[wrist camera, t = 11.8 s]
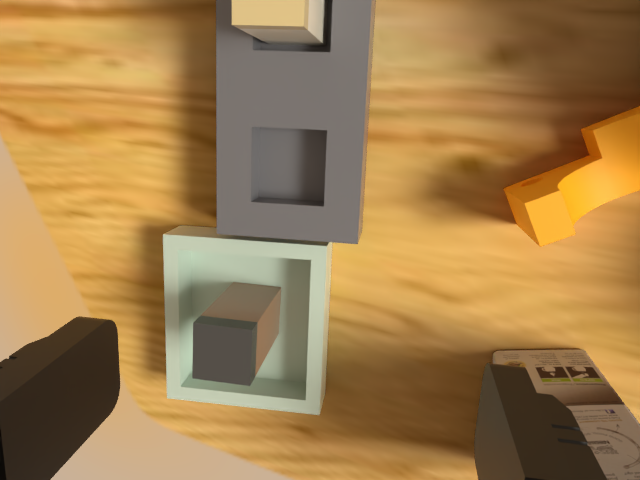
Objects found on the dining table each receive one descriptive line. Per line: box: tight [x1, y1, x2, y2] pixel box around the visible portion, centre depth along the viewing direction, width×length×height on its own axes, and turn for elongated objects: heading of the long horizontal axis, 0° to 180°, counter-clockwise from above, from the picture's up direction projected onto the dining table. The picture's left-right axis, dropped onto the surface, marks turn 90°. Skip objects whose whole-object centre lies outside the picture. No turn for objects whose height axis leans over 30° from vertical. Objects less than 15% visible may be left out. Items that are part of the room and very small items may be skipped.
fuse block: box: [216, 0, 376, 244], centre depth 35 cm, size 18×9×4 cm, turn 178°
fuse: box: [232, 0, 328, 46], centre depth 30 cm, size 4×4×8 cm
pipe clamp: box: [503, 106, 640, 247], centre depth 32 cm, size 12×4×6 cm, turn 113°
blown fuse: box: [192, 282, 281, 386], centre depth 36 cm, size 4×4×8 cm
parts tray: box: [163, 225, 332, 415], centre depth 39 cm, size 12×11×3 cm
